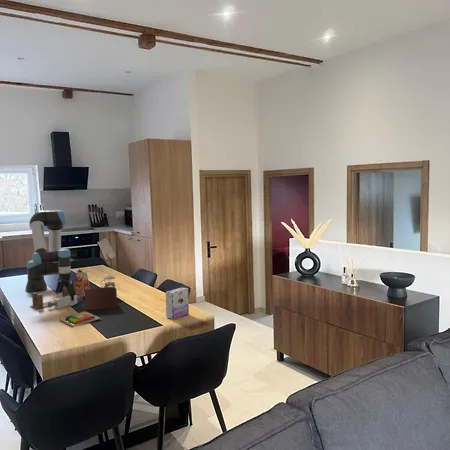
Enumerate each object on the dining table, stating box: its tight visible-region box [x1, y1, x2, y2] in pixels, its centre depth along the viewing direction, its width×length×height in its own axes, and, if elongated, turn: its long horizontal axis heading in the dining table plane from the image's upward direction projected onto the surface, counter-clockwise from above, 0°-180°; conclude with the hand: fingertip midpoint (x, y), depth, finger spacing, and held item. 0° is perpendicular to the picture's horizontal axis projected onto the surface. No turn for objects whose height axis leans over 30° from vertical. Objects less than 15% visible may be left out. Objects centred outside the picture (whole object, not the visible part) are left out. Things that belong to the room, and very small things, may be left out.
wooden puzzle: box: [58, 310, 102, 327], centre depth 253 cm, size 18×19×4 cm
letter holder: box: [84, 286, 118, 311], centre depth 280 cm, size 10×20×14 cm, turn 107°
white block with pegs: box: [47, 294, 84, 309], centre depth 285 cm, size 5×24×6 cm, turn 141°
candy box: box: [165, 287, 190, 320], centre depth 258 cm, size 14×6×16 cm, turn 141°
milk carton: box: [74, 268, 91, 297], centre depth 313 cm, size 9×9×20 cm
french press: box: [99, 261, 116, 288], centre depth 306 cm, size 10×12×25 cm
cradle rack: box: [29, 288, 69, 310], centre depth 288 cm, size 10×24×9 cm, turn 142°
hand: (66, 303), depth 286 cm, fingers open, 13 cm apart
